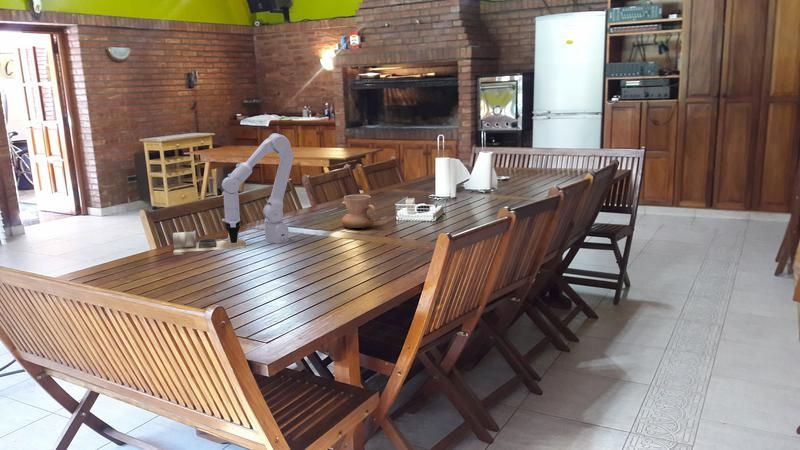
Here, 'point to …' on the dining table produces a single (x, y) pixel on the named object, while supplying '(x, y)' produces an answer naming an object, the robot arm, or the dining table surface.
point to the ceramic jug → (358, 211)
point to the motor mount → (200, 243)
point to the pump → (233, 243)
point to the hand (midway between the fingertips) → (233, 241)
